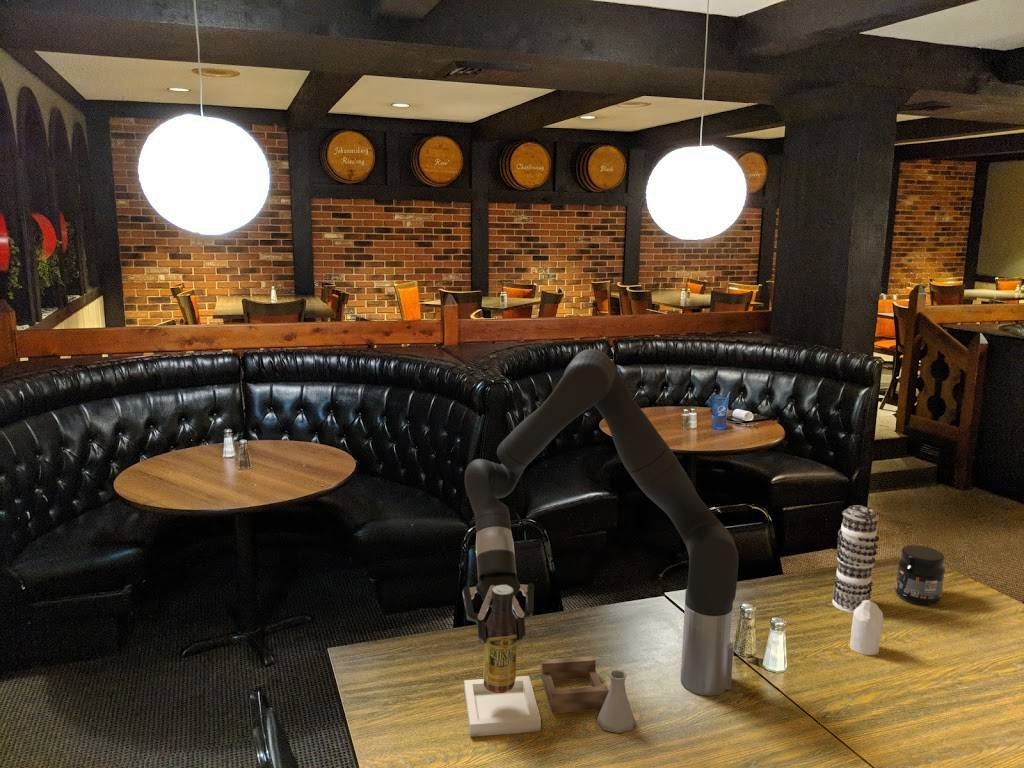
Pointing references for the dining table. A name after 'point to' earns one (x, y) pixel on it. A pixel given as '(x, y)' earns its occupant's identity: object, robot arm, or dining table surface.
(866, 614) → the white pointed cylinder
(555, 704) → the holder
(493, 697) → the tray
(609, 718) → the flask
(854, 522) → the decorative candle
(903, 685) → the dining table surface
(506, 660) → the sauce bottle
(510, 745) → the dining table surface
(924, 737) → the dining table surface
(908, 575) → the supplement container
